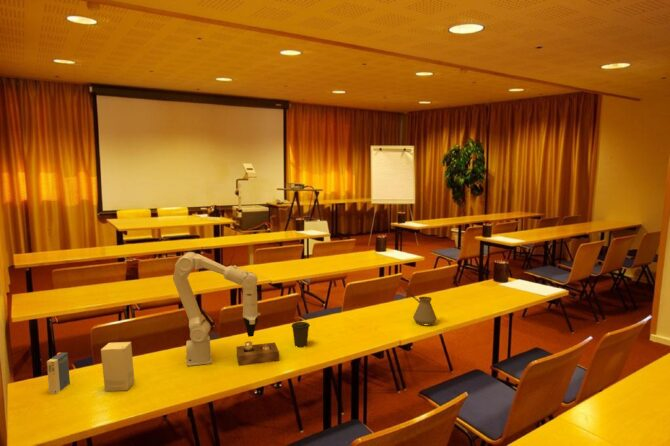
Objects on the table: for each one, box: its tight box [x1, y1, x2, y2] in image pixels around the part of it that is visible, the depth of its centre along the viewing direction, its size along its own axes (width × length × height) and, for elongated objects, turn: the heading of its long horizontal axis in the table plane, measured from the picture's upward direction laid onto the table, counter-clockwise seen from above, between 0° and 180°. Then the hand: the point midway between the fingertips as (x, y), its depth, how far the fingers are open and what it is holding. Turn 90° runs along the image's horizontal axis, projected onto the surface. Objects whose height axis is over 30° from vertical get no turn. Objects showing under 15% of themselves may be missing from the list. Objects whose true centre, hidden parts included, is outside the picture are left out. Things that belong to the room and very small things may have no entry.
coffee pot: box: [401, 287, 437, 325], centre depth 231 cm, size 21×12×15 cm, turn 37°
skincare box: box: [100, 341, 135, 392], centre depth 160 cm, size 8×7×16 cm
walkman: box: [46, 352, 71, 395], centre depth 159 cm, size 8×3×12 cm, turn 0°
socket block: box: [236, 342, 280, 367], centre depth 185 cm, size 16×10×4 cm, turn 106°
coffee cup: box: [291, 321, 311, 348], centre depth 199 cm, size 8×8×10 cm
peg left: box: [244, 341, 253, 352], centre depth 184 cm, size 3×3×4 cm
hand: (250, 336), depth 183 cm, fingers closed
